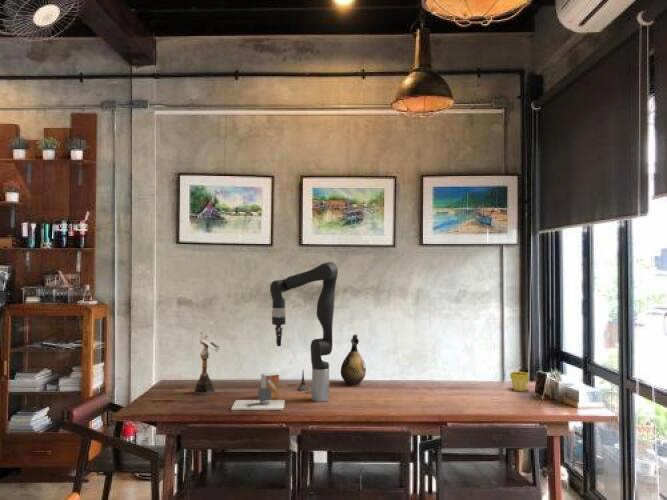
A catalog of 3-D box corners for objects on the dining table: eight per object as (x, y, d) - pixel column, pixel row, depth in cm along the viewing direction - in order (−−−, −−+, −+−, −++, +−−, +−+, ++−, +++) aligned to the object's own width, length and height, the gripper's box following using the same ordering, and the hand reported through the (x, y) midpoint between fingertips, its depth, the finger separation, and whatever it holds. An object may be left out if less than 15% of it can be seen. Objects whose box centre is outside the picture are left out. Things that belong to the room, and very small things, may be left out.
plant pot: (526, 388, 332) (526, 371, 332) (530, 392, 322) (530, 375, 322) (508, 387, 333) (508, 371, 333) (512, 391, 323) (512, 374, 323)
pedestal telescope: (225, 389, 327) (225, 329, 327) (222, 395, 314) (222, 332, 314) (196, 389, 326) (196, 329, 326) (192, 395, 313) (192, 332, 313)
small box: (265, 399, 304) (266, 375, 304) (260, 397, 309) (260, 373, 309) (279, 397, 308) (279, 374, 308) (273, 395, 314) (273, 372, 314)
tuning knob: (268, 401, 293) (268, 386, 293) (271, 403, 289) (271, 388, 289) (246, 404, 288) (246, 388, 288) (250, 406, 283) (250, 391, 283)
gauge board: (284, 402, 298) (284, 399, 298) (282, 411, 282) (282, 408, 282) (236, 402, 297) (236, 399, 297) (231, 411, 281) (231, 408, 281)
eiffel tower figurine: (309, 394, 318) (309, 371, 318) (292, 393, 320) (292, 370, 320) (314, 388, 333) (314, 365, 333) (298, 387, 335) (298, 365, 335)
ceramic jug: (366, 387, 333) (366, 337, 333) (340, 387, 333) (340, 337, 334) (365, 380, 350) (365, 333, 350) (340, 380, 350) (340, 333, 350)
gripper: (271, 314, 319) (271, 343, 319) (272, 317, 305) (272, 347, 305) (284, 314, 320) (284, 342, 320) (286, 317, 306) (286, 346, 306)
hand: (278, 344), depth 312 cm, fingers open, 8 cm apart
